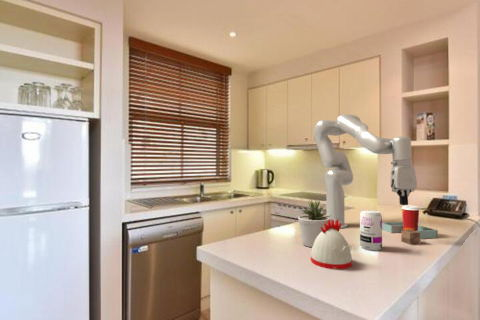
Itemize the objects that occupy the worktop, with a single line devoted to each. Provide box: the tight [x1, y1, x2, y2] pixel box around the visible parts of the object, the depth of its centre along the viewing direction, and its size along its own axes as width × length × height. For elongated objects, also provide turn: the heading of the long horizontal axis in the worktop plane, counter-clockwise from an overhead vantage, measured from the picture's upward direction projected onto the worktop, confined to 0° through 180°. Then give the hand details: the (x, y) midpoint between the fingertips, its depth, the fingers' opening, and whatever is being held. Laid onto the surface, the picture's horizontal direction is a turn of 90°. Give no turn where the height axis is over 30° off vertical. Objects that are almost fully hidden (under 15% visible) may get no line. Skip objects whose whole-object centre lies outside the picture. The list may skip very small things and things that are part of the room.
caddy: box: [382, 221, 439, 240], centre depth 138 cm, size 15×19×4 cm
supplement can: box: [359, 209, 383, 252], centre depth 114 cm, size 8×8×15 cm
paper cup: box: [401, 204, 421, 231], centre depth 135 cm, size 8×8×14 cm
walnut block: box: [400, 230, 421, 246], centre depth 122 cm, size 5×5×5 cm
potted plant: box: [297, 198, 332, 248], centre depth 119 cm, size 13×14×20 cm
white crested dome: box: [310, 220, 353, 270], centre depth 99 cm, size 14×14×15 cm
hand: (403, 204), depth 125 cm, fingers closed
